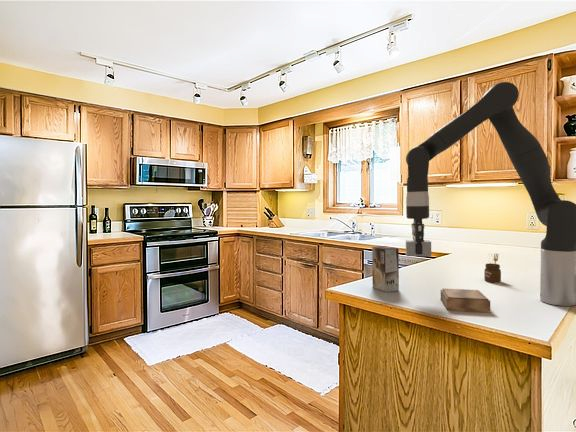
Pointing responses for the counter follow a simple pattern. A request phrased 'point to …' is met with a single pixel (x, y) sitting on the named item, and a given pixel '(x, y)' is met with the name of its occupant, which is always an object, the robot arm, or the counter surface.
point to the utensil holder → (492, 271)
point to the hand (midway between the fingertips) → (418, 253)
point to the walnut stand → (465, 300)
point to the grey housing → (411, 248)
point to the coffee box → (385, 268)
